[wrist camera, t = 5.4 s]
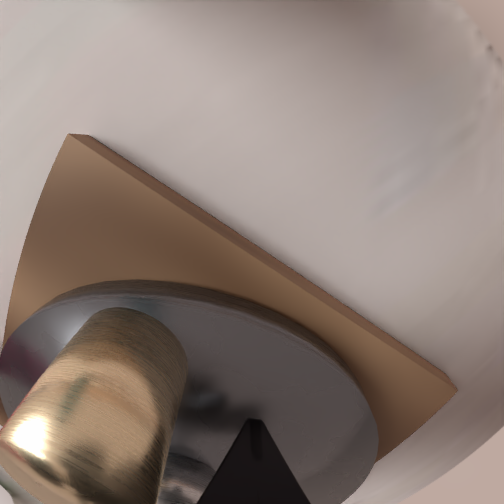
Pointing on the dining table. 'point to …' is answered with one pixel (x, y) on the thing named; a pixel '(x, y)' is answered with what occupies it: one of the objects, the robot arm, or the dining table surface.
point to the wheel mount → (200, 274)
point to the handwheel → (172, 396)
